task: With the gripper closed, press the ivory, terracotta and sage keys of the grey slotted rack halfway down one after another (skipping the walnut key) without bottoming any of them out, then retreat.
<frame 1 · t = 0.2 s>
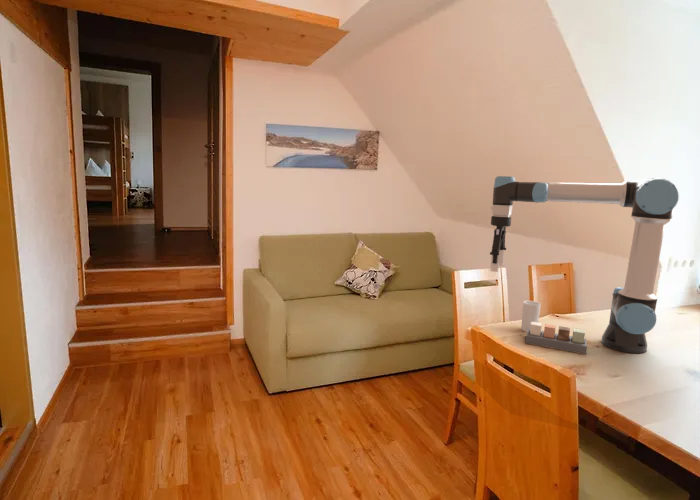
hand: (496, 268, 175), 27 cm above the table, fingers open, 13 cm apart
key sage: (578, 335, 165), point 5 cm above the table, slide at 0.0 cm
key walnut: (563, 333, 167), point 5 cm above the table, slide at 0.0 cm
grey slotted rack: (555, 344, 169), on the table
key terracotta: (549, 330, 169), point 5 cm above the table, slide at 0.0 cm
mug: (530, 329, 186), on the table
key ivory: (535, 328, 171), point 5 cm above the table, slide at 0.0 cm
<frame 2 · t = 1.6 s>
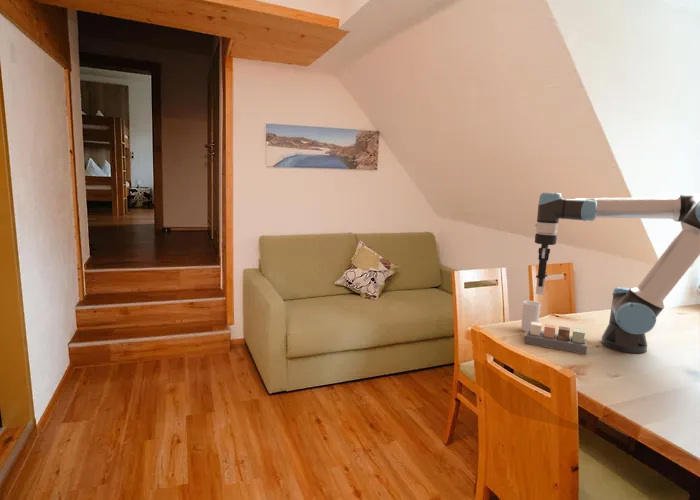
hand: (539, 293, 169), 19 cm above the table, fingers closed
nothing on the table moved.
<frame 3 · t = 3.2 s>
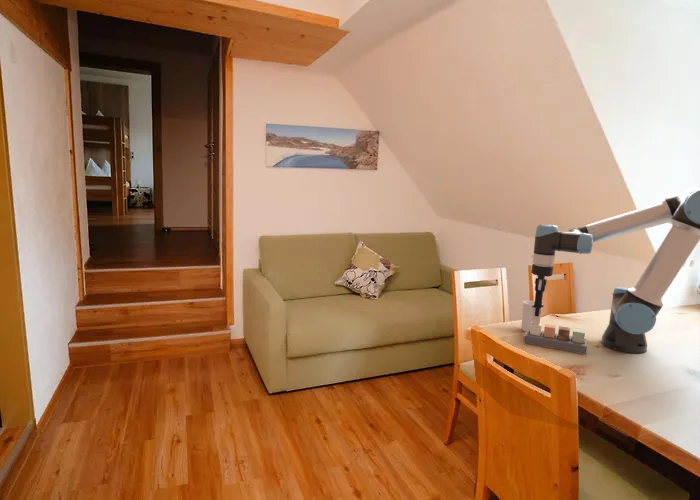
hand: (535, 323, 171), 7 cm above the table, fingers closed
key ivory: (535, 328, 171), point 5 cm above the table, slide at 0.0 cm, touching gripper
everything else where it was.
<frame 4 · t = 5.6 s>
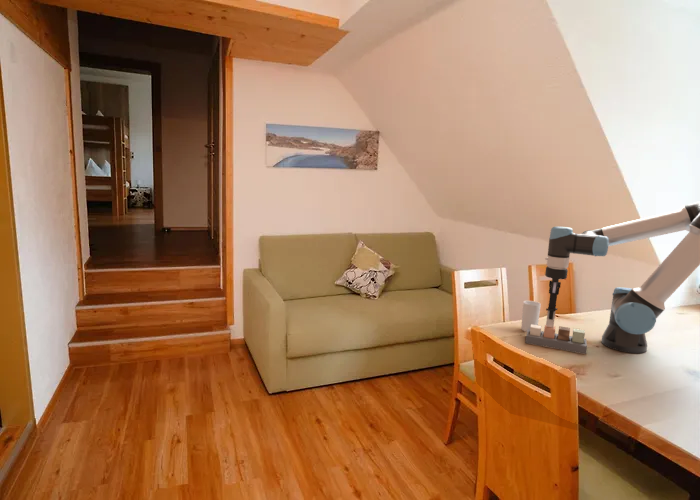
hand: (549, 326, 169), 7 cm above the table, fingers closed
key terracotta: (549, 332, 169), point 5 cm above the table, slide at 0.4 cm, touching gripper
key ivory: (535, 331, 172), point 4 cm above the table, slide at 1.1 cm
everything else where it was.
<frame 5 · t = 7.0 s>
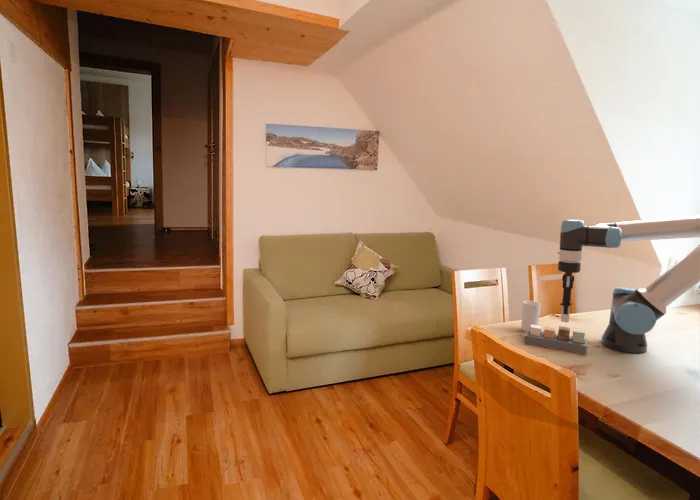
hand: (564, 321, 166), 10 cm above the table, fingers closed
key terracotta: (549, 333, 169), point 4 cm above the table, slide at 1.1 cm
everything else where it was.
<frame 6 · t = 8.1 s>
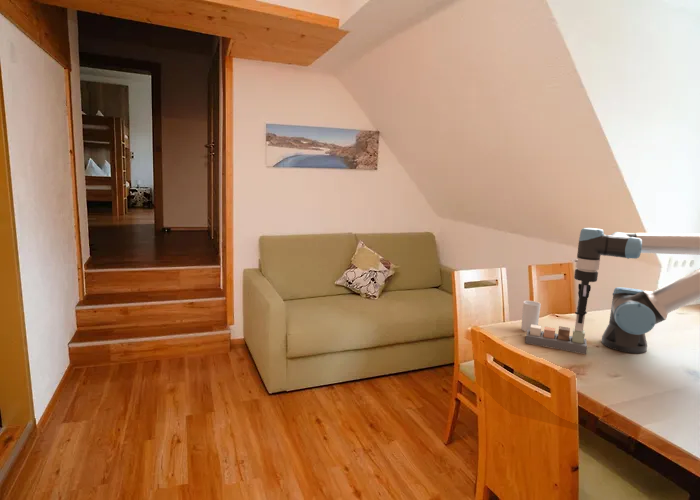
hand: (578, 330, 165), 7 cm above the table, fingers closed
key sage: (578, 336, 165), point 5 cm above the table, slide at 0.1 cm, touching gripper
everything else where it was.
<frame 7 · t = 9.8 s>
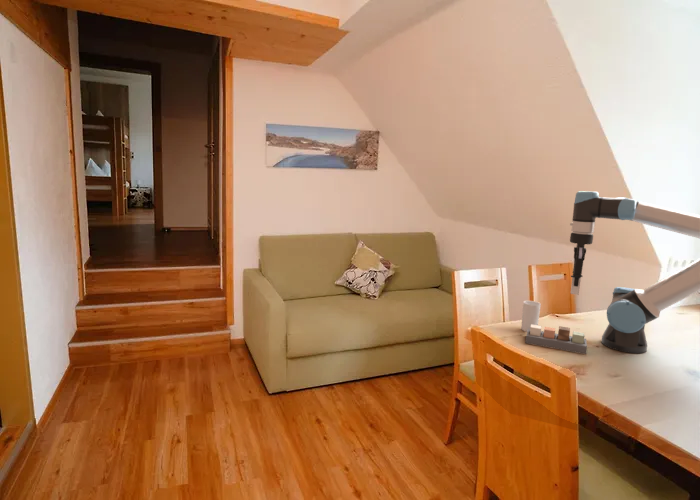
hand: (574, 293, 166), 20 cm above the table, fingers closed
key sage: (578, 338, 165), point 4 cm above the table, slide at 1.1 cm
everything else where it was.
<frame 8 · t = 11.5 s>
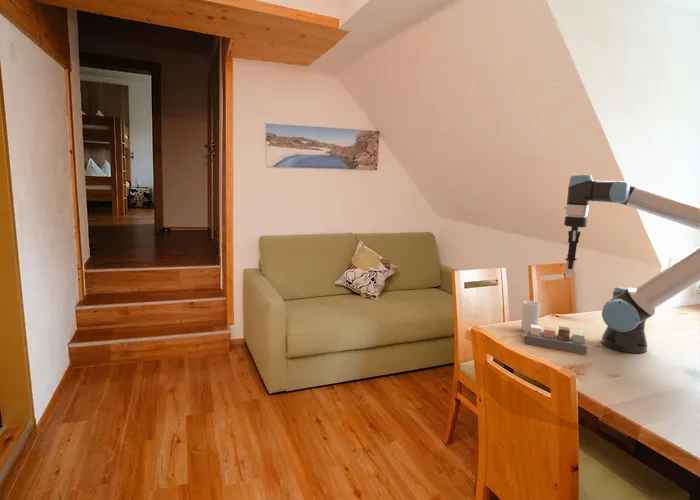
hand: (568, 276, 168), 26 cm above the table, fingers closed
nothing on the table moved.
at the end: key ivory slide at 1.1 cm; key terracotta slide at 1.1 cm; key sage slide at 1.1 cm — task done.
